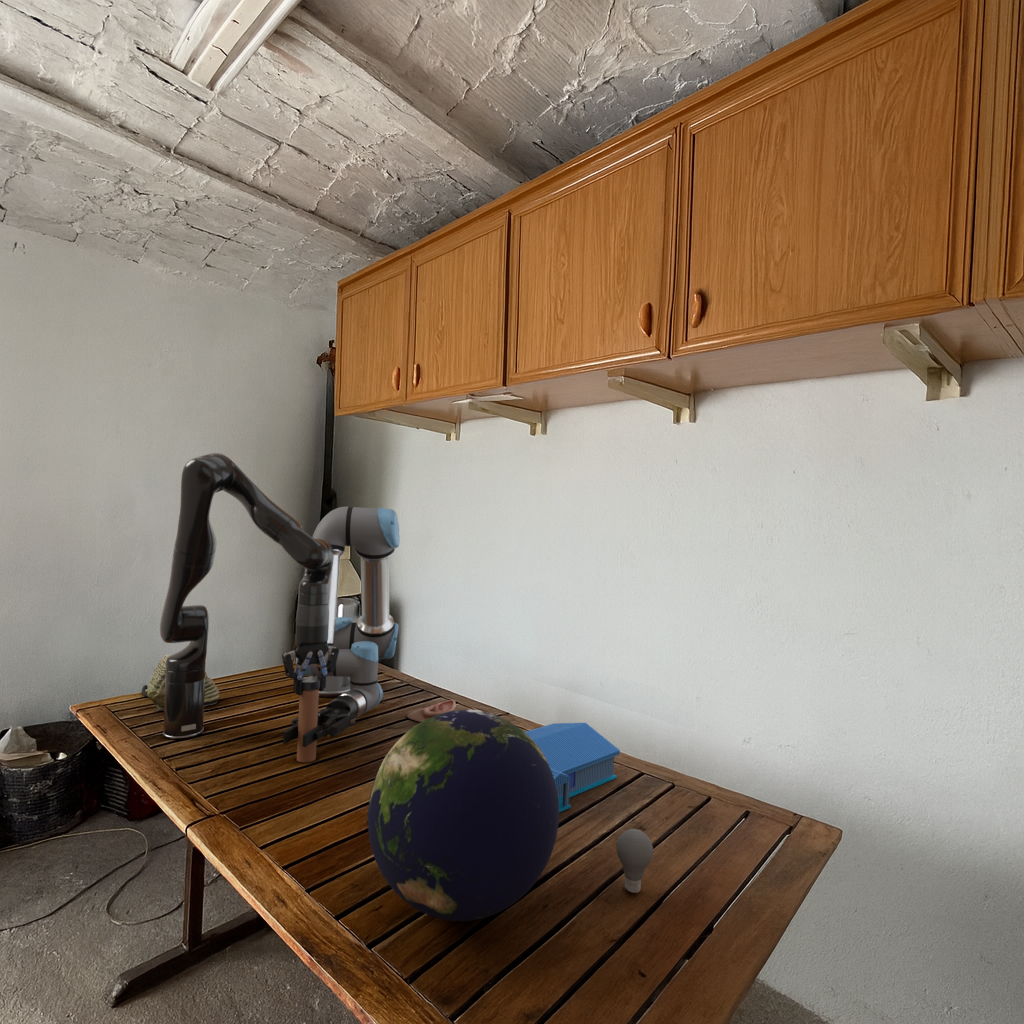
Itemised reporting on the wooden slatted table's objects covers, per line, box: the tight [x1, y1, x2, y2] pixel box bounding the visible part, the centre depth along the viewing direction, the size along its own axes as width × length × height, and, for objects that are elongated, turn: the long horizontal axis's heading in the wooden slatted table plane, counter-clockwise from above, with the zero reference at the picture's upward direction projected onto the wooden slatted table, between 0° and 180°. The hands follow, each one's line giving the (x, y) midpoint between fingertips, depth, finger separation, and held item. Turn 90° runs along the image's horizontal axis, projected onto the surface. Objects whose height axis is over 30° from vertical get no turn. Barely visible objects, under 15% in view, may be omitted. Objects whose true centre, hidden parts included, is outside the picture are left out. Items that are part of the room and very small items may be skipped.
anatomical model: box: [406, 699, 457, 723], centre depth 185 cm, size 13×4×12 cm
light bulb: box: [615, 828, 654, 894], centre depth 106 cm, size 6×6×10 cm
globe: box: [367, 709, 560, 922], centre depth 100 cm, size 30×30×30 cm
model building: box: [524, 722, 621, 813], centre depth 143 cm, size 39×24×10 cm, turn 132°
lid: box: [302, 676, 321, 690], centre depth 152 cm, size 5×5×2 cm
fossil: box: [147, 654, 221, 712], centre depth 185 cm, size 9×18×15 cm, turn 132°
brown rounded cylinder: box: [296, 688, 320, 763], centre depth 152 cm, size 4×4×18 cm
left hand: (309, 692), depth 152 cm, fingers closed on lid, 5 cm apart
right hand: (294, 739), depth 147 cm, fingers closed on brown rounded cylinder, 4 cm apart
